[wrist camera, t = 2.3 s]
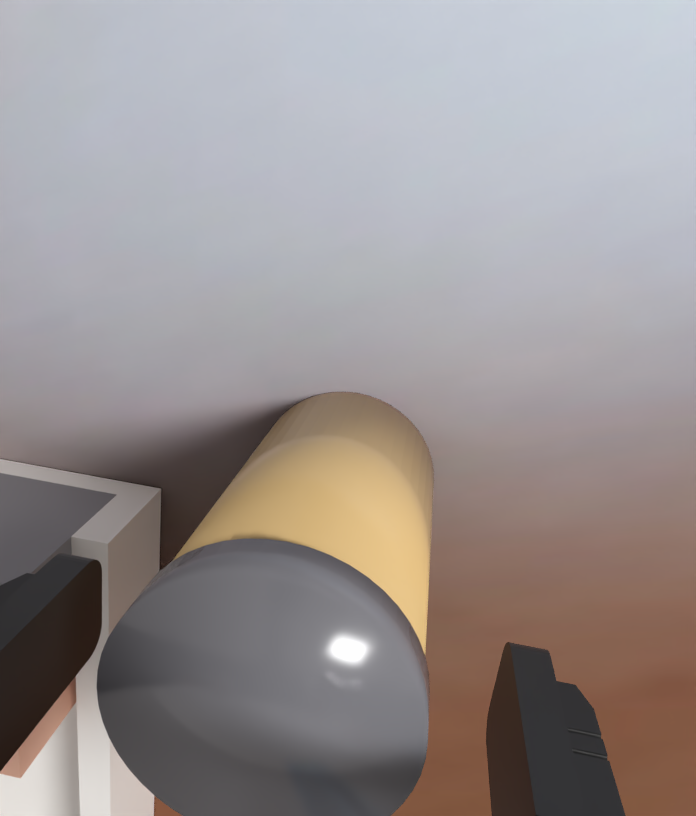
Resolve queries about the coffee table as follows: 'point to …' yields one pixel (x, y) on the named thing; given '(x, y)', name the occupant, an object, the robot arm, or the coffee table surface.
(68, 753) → the tray
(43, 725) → the plate
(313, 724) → the amber jar
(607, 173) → the coffee table surface
